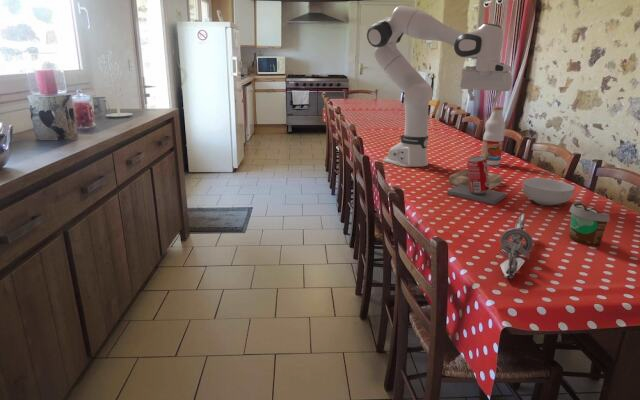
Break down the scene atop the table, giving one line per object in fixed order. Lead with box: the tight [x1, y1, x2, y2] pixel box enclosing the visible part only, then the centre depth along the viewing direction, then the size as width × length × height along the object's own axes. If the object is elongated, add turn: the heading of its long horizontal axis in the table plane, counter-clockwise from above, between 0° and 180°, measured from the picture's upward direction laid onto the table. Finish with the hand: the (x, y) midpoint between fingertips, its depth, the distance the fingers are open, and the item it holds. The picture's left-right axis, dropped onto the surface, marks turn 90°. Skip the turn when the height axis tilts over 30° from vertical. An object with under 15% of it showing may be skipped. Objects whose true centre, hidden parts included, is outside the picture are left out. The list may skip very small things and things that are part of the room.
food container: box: [569, 200, 611, 247], centre depth 124 cm, size 12×6×10 cm, turn 5°
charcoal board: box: [447, 184, 507, 205], centre depth 165 cm, size 18×12×2 cm, turn 49°
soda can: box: [466, 155, 489, 194], centre depth 161 cm, size 7×7×13 cm
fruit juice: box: [480, 106, 506, 166], centre depth 211 cm, size 9×9×28 cm
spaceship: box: [498, 213, 534, 279], centre depth 114 cm, size 8×35×8 cm
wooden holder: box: [448, 168, 503, 190], centre depth 180 cm, size 16×16×4 cm
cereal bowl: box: [522, 177, 575, 206], centre depth 157 cm, size 17×17×7 cm
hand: (483, 101), depth 178 cm, fingers open, 8 cm apart
